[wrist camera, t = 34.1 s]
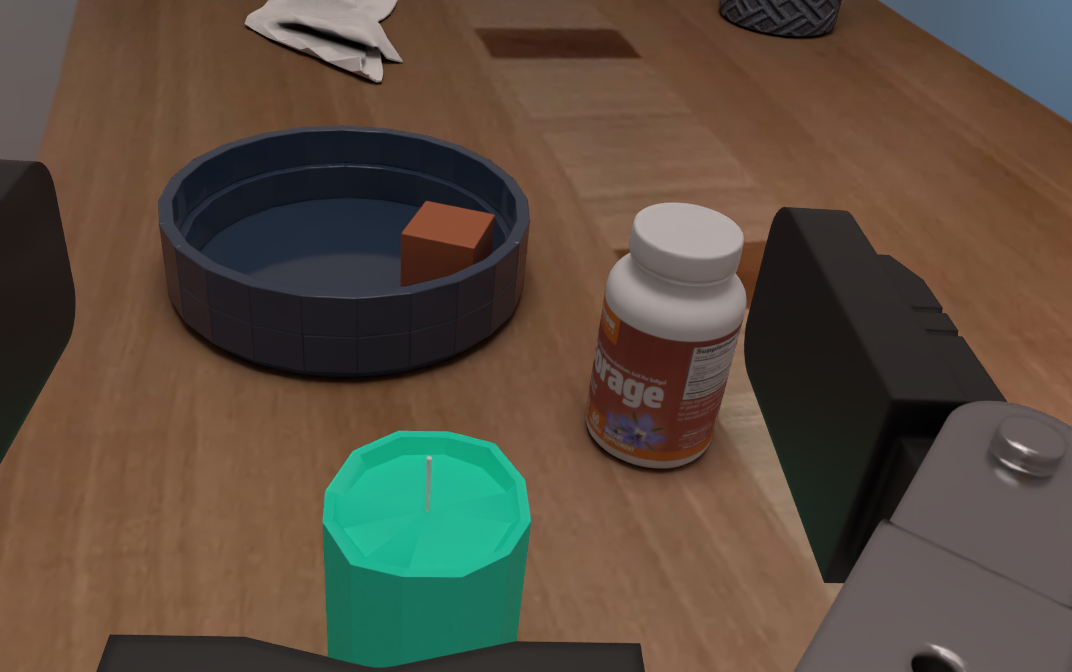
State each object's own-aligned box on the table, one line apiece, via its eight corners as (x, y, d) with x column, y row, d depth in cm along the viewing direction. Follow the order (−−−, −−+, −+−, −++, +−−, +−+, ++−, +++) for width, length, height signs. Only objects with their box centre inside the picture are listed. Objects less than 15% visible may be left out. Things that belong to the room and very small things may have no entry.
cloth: (262, -19, 101) (260, -43, 100) (401, -11, 103) (402, -34, 102) (226, 77, 80) (224, 49, 78) (402, 85, 82) (403, 58, 80)
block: (399, 297, 55) (400, 233, 53) (423, 262, 58) (425, 200, 56) (470, 312, 55) (474, 248, 52) (490, 276, 58) (495, 214, 56)
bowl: (96, 338, 51) (80, 252, 48) (262, 177, 67) (257, 105, 64) (472, 416, 48) (478, 331, 46) (551, 230, 64) (559, 158, 61)
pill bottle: (557, 414, 49) (584, 211, 43) (652, 376, 52) (690, 182, 46) (642, 492, 45) (685, 280, 39) (738, 445, 48) (792, 243, 42)
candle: (414, 621, 38) (423, 365, 31) (541, 712, 35) (579, 454, 29) (292, 727, 34) (270, 461, 27) (424, 840, 31) (436, 575, 25)
